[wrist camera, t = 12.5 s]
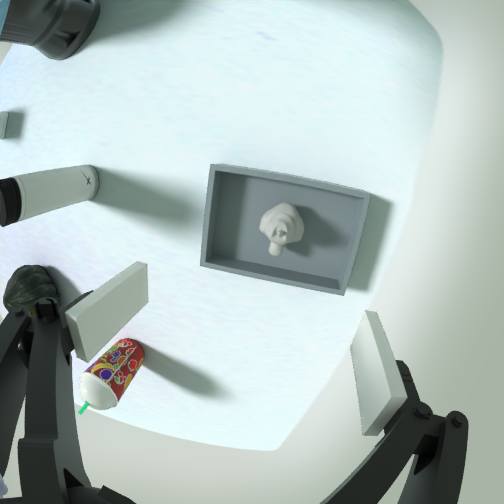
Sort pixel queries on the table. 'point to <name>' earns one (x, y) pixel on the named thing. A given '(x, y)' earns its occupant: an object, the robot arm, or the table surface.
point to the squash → (28, 288)
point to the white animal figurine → (282, 227)
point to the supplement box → (3, 123)
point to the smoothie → (110, 375)
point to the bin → (294, 254)
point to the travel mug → (45, 192)
